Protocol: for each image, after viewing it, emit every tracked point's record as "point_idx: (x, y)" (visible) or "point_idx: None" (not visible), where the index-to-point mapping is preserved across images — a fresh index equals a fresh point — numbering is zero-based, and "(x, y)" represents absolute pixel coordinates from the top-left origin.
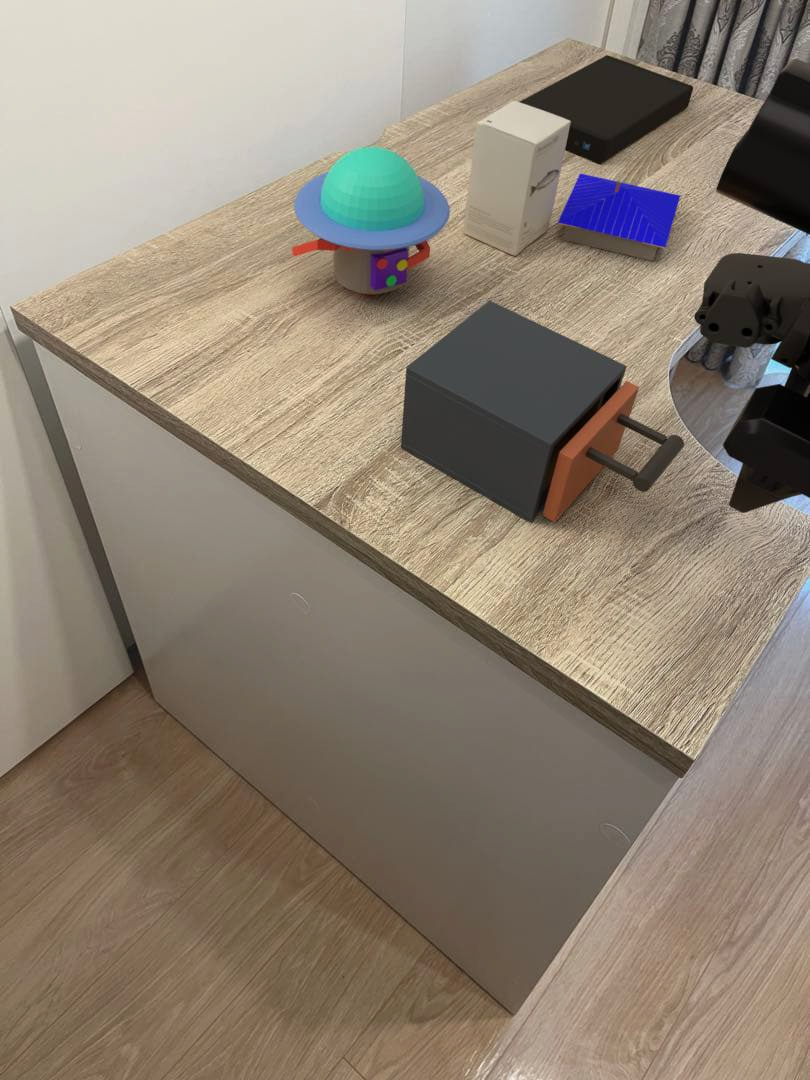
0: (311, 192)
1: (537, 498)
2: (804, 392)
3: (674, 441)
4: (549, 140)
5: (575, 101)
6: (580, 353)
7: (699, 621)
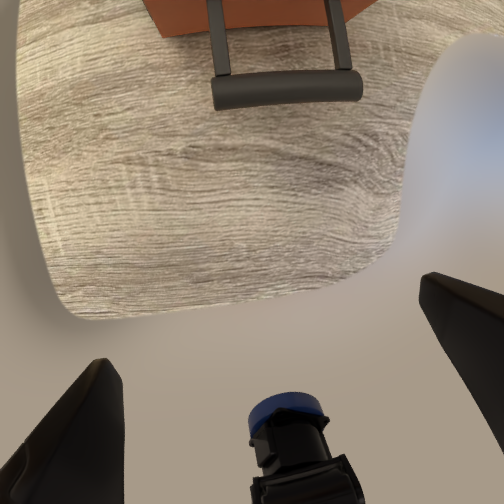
0: None
1: (144, 3)
2: (493, 366)
3: (344, 84)
4: None
5: None
6: None
7: (185, 250)
